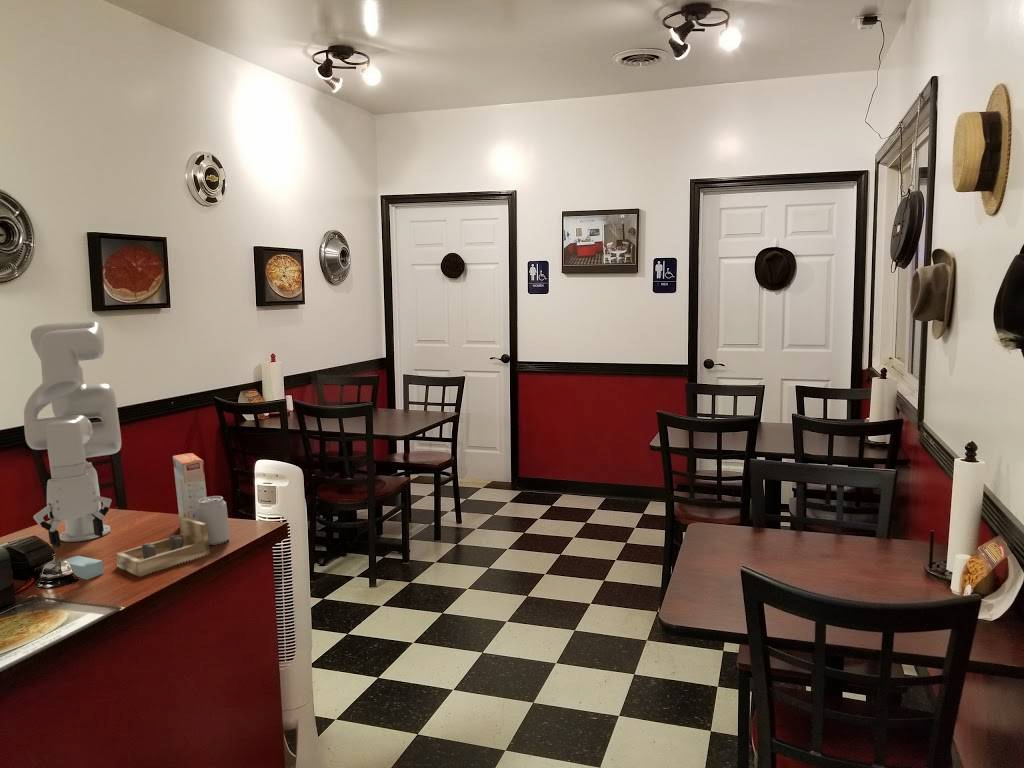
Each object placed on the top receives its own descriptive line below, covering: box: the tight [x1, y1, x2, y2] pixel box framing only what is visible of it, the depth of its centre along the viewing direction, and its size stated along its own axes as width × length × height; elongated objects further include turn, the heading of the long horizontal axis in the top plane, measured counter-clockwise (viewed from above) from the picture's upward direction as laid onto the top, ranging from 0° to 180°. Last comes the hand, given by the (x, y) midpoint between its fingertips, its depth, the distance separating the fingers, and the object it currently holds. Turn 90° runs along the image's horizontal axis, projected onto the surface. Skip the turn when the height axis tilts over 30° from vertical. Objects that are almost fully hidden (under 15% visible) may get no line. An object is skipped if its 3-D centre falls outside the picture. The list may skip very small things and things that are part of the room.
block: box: [65, 555, 105, 581], centre depth 193 cm, size 10×4×4 cm, turn 61°
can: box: [196, 495, 231, 546], centre depth 211 cm, size 8×8×12 cm
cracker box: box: [172, 452, 208, 521], centre depth 223 cm, size 14×6×21 cm, turn 33°
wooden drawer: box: [115, 517, 211, 578], centre depth 199 cm, size 12×18×8 cm, turn 140°
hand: (78, 540), depth 191 cm, fingers open, 9 cm apart
